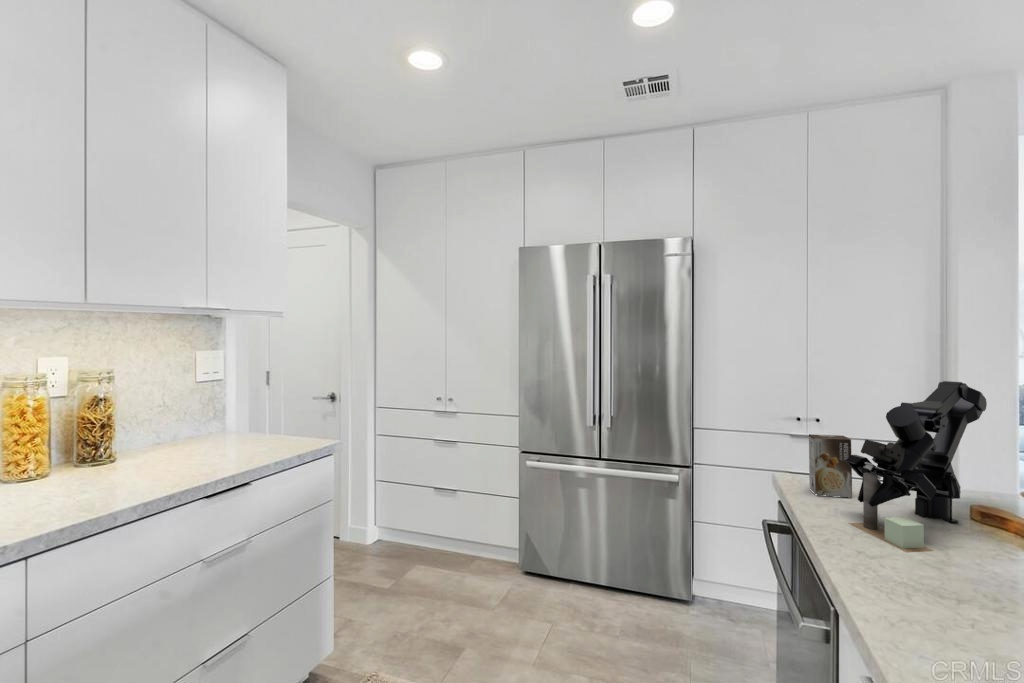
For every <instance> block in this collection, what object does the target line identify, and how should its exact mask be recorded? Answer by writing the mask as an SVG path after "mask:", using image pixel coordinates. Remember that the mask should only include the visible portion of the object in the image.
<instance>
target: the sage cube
mask: <svg viewBox="0 0 1024 683" xmlns="http://www.w3.org/2000/svg"><path fill="white" fill-rule="evenodd" d="M884 528H885V540H886V541H888V542H891V543H893V544H895V545H897V546H899V547H901V548H924V546H925V542H924V541H925V538H924V537H925V529H924V528H925V525H924V524H923V523H920V522H919V521H918V522H917V521H915V520H913V519H911V518H909V517H906V516H902V517H901V516H900V517H899V516H897V517H896V516H895V517H884Z"/></svg>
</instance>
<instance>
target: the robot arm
mask: <svg viewBox="0 0 1024 683" xmlns="http://www.w3.org/2000/svg"><path fill="white" fill-rule="evenodd" d="M987 402H988V401H987V399H986V397H985V396H984V394H983V393H982V392H981V391H979V390H977V389H975V388H972V387H970V386H968V385H967V383H964V382H962V381H952V380H951V381H950V380H949V381H946V380H943V381H939V382H938V385H937V387H936V388H935V390H934V391H932V392H931V394H929V395H928V396H927V397H926V398H925V399H924V400H923V401H917V402H913V403H912V402H901V403H900V405H899V406H895V407H893V408H892V409H890V410H888V412H886V414H885V415H886V416H885V419H886V421H887V423H888V425H889V427H890V429H891V431H892V432H893V434H894V436H895V437H896V438H897V441H895V442H892V441H891V442H887V444H885V443H882V442H878V441H875V440H870V439H864V442H863V445H862V447H861V449H860V453H862V454H864V455H867V456H869V457H871V460H872V461H873V462H874V463H875V464H876V465H875V464H874V463H872V462H871V461H870V460H869V458H867V457H864V456H861V455H859V454H851V455H850V456H849V457H848V459H847V460H846V462H847V464H848V465H849V466H850V467H851V468H852V471H853V472H855V473H856V475H858V476H859V477H860V478H862V480H861V482H862V483H861V486H860V489H859V493H858V496H857V501H858V502H860V503H863V473H874V474H877V475H878V490H877V491H876V493H875V494H874V495H873V497H872V498H871V500H870V501H869V505H870V506H872V507H874V506H876V505H878V506H879V505H881V504H884V503H886V502H889V501H893V500H895V499H899V498H903V497H910V496H911V495H912V494H911V493H910V491H911V492H915V493H916V497H915V499H914V500H915V501H914V502H915V505H914V513H915V515H917V516H919V517H922V518H924V519H935V520H941V521H944V522H947V523H949V524H957V523H959V520H958V519H956V518H953V500H954V499H955V500H957V499H958V500H959V499H961V485H960V483H959V480H958V479H957V476H956V474H955V470H954V468H953V465H952V461H953V459H954V457H955V454H956V452H957V450H958V448H959V445H960V443H961V440H962V437H963V435H964V433H965V430H966V428H967V426H968V425H969V424H971V423H974V422H975V421H977V420H979V419H981V418H980V417H981V416H982V415H983V412H985V411H986V409H987ZM930 433H935V434H934V437H933V436H932V435H931V434H930ZM881 478H882V482H881Z"/></svg>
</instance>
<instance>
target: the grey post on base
mask: <svg viewBox="0 0 1024 683" xmlns="http://www.w3.org/2000/svg"><path fill="white" fill-rule="evenodd" d="M862 480H863V502H862V503H863V508H862V509H863V518H862V519H863V522H849V523H848V524H849V525H851V526H852V527H855V528H857V529H859V530H860V531H863V532H865V533H866V534H868V535H871V536H872V537H875V538H877V539H879V540H880V541H883V542H885V543H887V544H889V545H891V546H892V547H895V548H897V549H899V550H901V551H903V552H905V553H917V552H918V553H922V552H924V553H925V552H934V551H935V550H934V549H932V548H929V547H927V546H925V545H924V548H901V547H899V546H897V545H895V544H893V543H891V542H888V541H886V540H885V526H882V525H880V524H878V520H879V519H878V517H879V516H878V514H879V513H878V507H879V505H876V506H874V507H872V506H870V505H869V501H870V500H871V498H872V497H873V495H874V494H875V493H876V491H877V490H878V475H877V474H874V473H863V478H862Z"/></svg>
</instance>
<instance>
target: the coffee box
mask: <svg viewBox="0 0 1024 683" xmlns="http://www.w3.org/2000/svg"><path fill="white" fill-rule="evenodd" d="M850 455H852V439H850V438H849V437H847V436H845V435H836V434H835V435H834V434H811V433H809V434H808V458H809V459H808V463H809V465H808V470H809V490H810V489H811V490H812V491H813V492H814V494H817V495H826V496H840V497H839V498H842V497H848V498H847V499H852V498H853V469H852V468H851V467H850V466H849V465H848V464H847V462H846V460H847V459H848V457H849V456H850ZM811 490H810V491H811ZM814 494H813V495H814ZM826 496H825V497H826Z"/></svg>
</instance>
